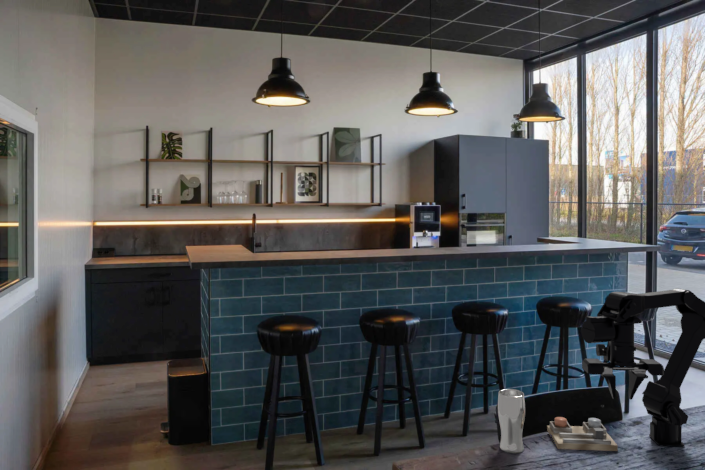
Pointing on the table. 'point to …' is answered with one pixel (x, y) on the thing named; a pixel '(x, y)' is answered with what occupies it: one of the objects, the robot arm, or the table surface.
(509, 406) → the beer glass
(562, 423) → the terracotta button
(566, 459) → the table surface
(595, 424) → the grey button
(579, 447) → the control panel
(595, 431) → the block
